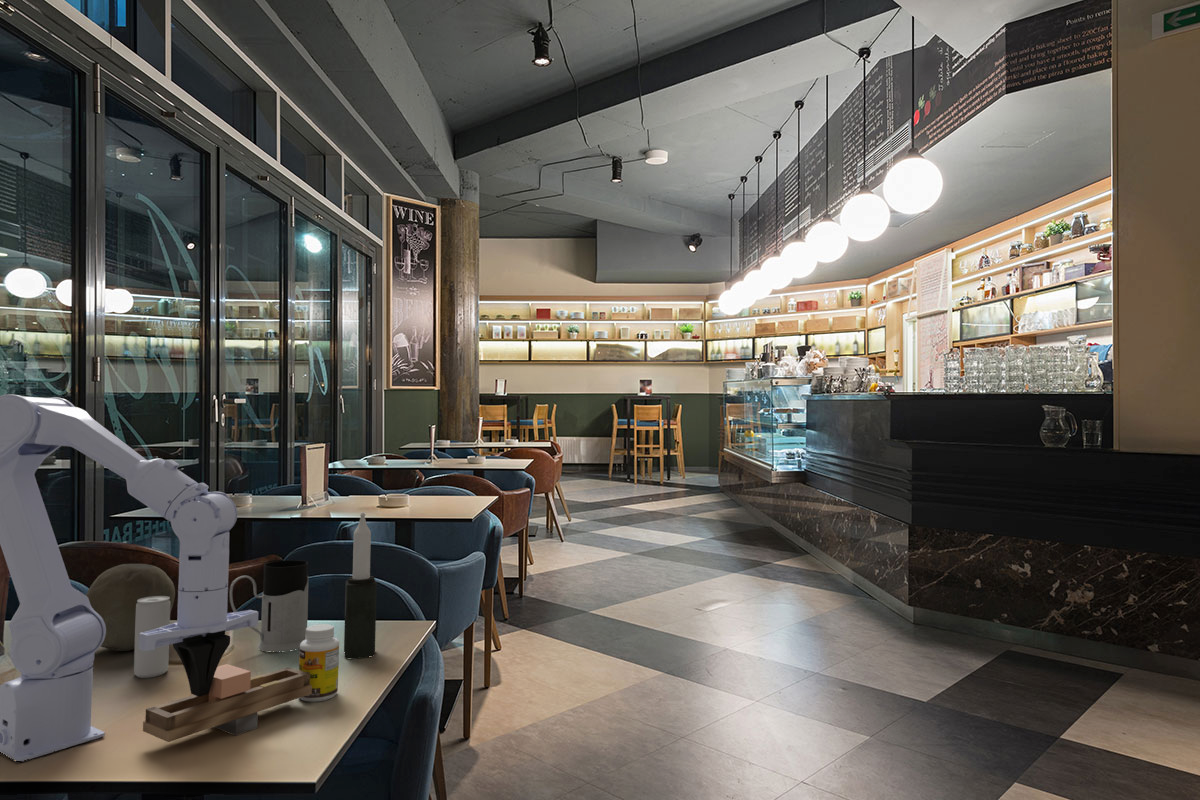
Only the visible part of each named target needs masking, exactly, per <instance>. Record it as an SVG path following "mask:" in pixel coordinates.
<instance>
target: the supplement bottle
mask: <svg viewBox="0 0 1200 800" xmlns="http://www.w3.org/2000/svg"><path fill="white" fill-rule="evenodd" d="M305 636H306V639H305V640H304V641H302V642H301V644H300V649H299V655H298V656H299V659H298V660H299V661H298V670H300V671H304V672H307V673H310V685H312V694H310V695H307V696H304V697H301V698H299V699H300V700H302V701H304V702H309V703H310V702H312V703H316V702H323V701H327V700H330V699H333V698H334V697H335V696H336V695H338V694H337V693H338V691H339V688H338V687H339V660H340V659H339V658H340V657H339V656H340V641H339V639H338V638H336V637H335V627H334V625H333V624H332V625H331V624H327V623H326V624H325V623H324V624H323V623H322V624H320V623H319V624H314V625H310V626H307V628H306V635H305Z"/></svg>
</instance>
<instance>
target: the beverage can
mask: <svg viewBox="0 0 1200 800" xmlns="http://www.w3.org/2000/svg"><path fill="white" fill-rule="evenodd" d="M169 599H170V597H167V596H152V597H145V598H141V599H139V600H137V602H138V603H137V604H136V619H135V649H134V652H133V653H134V655H133V657H134V658H133V659H134V661H133V673H134V675H135V676H136V678H137V677H138V678H142V679H150V678H155V677H159V676H161V675H164V674H165V673H166V672H167V671H168V669H169V660H170V658H169V656H170V654H169V652H170V645H166V646H161V647H157V648H156V649H155V650H151V651H145V650H141V649H139V633H142V632H146V631H150V630H154V629H157V628H160V627H163V626H166V625H169V624H171V612H170V601H169Z"/></svg>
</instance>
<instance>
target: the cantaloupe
mask: <svg viewBox="0 0 1200 800" xmlns="http://www.w3.org/2000/svg"><path fill="white" fill-rule="evenodd" d="M85 595H86V596H87V597H88V599H89V602H90V604H91V606H92V608H93V609H94V611H95V612H97V613H98V614H99V615H100V616H101V617H102V619H103V621H104V623H105V626H106V635H105V639H104V641H103V643H102V645H101V646H100V647H101V648H105V649H108V650H111V651H116V652H128V651H129V652H130V651H133V650H135V619H136V604H137V603H138V602H137V600H139V599H141V598H145V597H152V596H167V597H170V599H169V601H170V613H171V612H172V609H173V607H174V603H175V598H176V589H175V585H174V582H173V580H172V579H171V578H170V577H169V575H167V573H166V572H165V571H164V570H163V569H161V568H160V567H158V566H155V565H152V564H146V563H122V564H119V565H116V566H113V567H110V568H108V569H106V570H105V571H103V572H102V573H101V574H100V575H98V576H97V578H96V579H95V580H94V581H93V582H92V584H91V585H90V586H89V588H88V590H87V593H86V594H85Z"/></svg>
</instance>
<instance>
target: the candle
mask: <svg viewBox="0 0 1200 800" xmlns="http://www.w3.org/2000/svg"><path fill="white" fill-rule="evenodd" d="M359 515H360V518H359V522H358V525H357V527H356V528H355V530H354V531H353V550H352V557H353V558H352V576H350V577H348V578H347V580H345V592H344V593H345V594H344V595H345V597H344V629H343V630H344V632H343V633H344V637H343V644H344V645H343V653H344V652H345V653H344V658H345V657H346V658H356V659H360V658H359V657H366V658H370V657H369V656H372V657H374V656H375V655H376V633H377V632H376V628H377V627H376V624H377V623H376V622H377V621H376V620H377V590H378V589H377V584H378V583H377V580H376V579H375V576H373V575H371V544H372V543H371V540H372V538H371V537H372V531H371V530H370V528H369V526H368V524H367V521H366V513H365V512H361V513H360V514H359ZM374 654H375V655H374ZM373 655H374V656H373ZM346 658H345V659H346Z"/></svg>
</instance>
